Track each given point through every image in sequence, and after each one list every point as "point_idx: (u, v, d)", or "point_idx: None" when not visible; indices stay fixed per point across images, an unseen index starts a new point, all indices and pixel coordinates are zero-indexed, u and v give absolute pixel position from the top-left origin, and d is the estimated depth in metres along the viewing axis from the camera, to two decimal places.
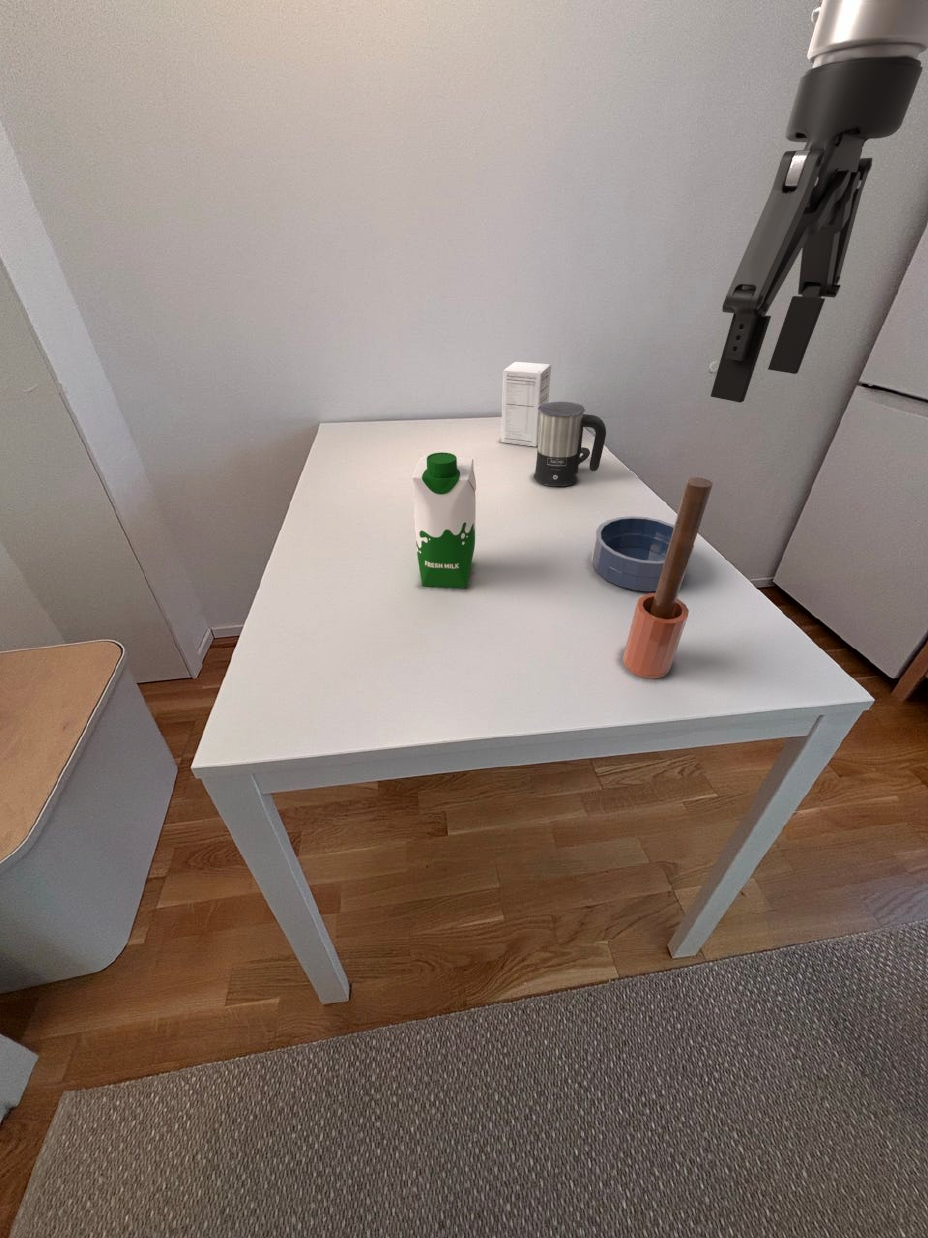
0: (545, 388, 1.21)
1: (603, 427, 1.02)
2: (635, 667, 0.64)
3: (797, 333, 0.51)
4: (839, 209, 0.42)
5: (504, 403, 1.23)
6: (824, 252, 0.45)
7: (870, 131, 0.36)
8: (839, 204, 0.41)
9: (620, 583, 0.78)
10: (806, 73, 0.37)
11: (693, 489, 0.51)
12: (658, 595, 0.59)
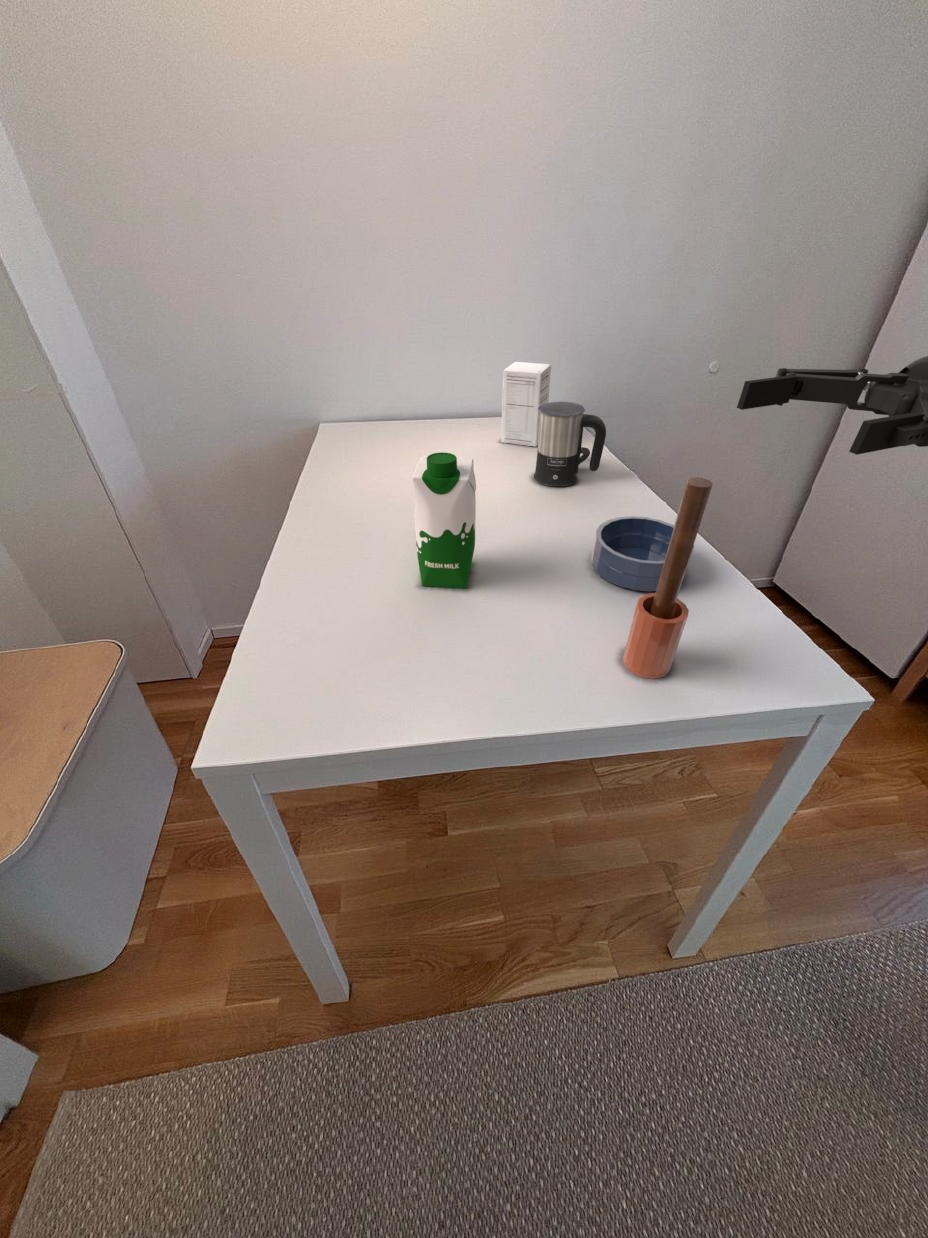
0: (545, 388, 1.21)
1: (603, 427, 1.02)
2: (635, 667, 0.64)
3: (771, 395, 0.56)
4: (869, 407, 0.56)
5: (504, 403, 1.23)
6: (831, 397, 0.56)
7: None
8: None
9: (620, 583, 0.78)
10: None
11: (693, 489, 0.51)
12: (658, 595, 0.59)
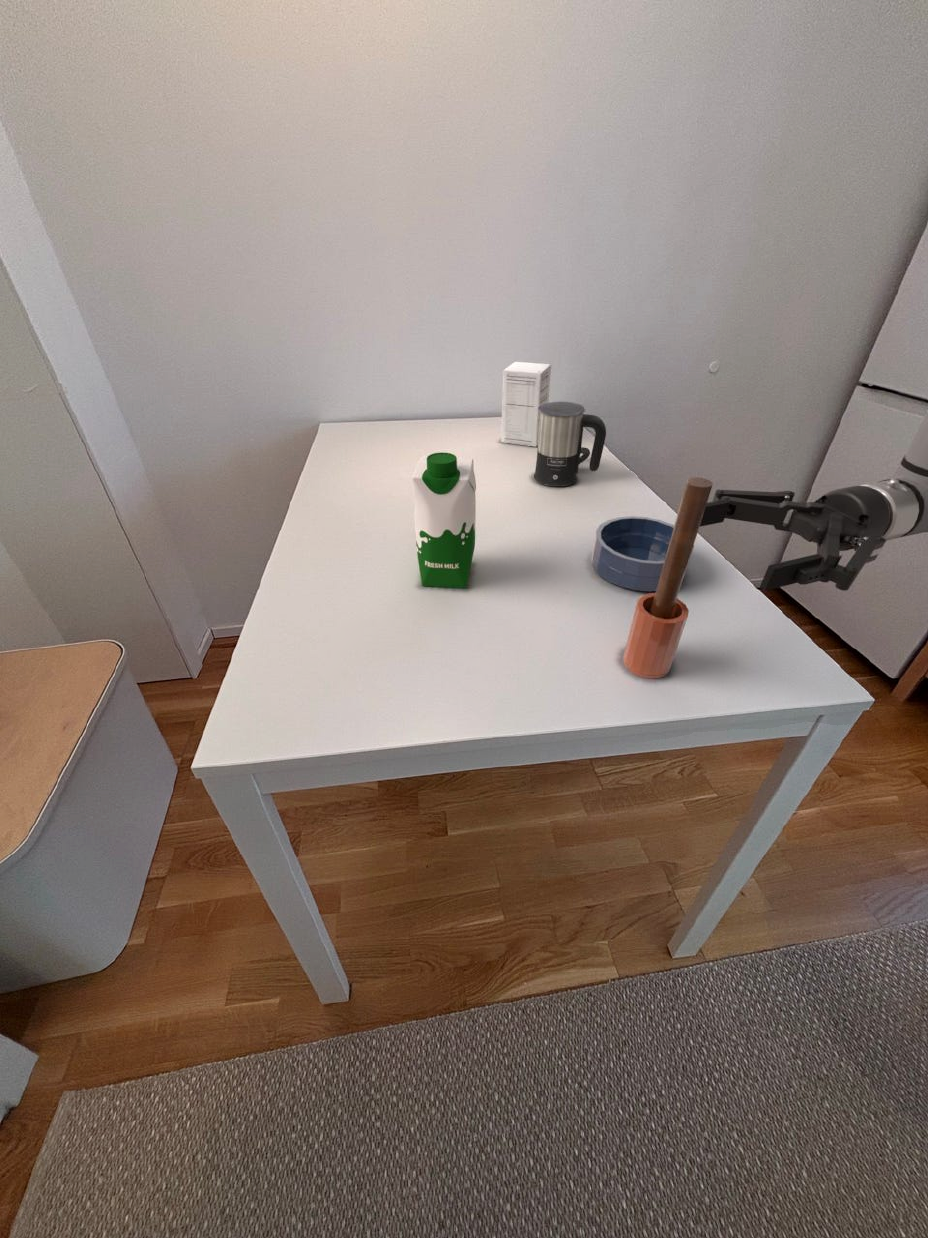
0: (545, 388, 1.21)
1: (603, 427, 1.02)
2: (635, 667, 0.64)
3: (706, 517, 0.64)
4: None
5: (504, 403, 1.23)
6: (760, 519, 0.64)
7: (843, 548, 0.63)
8: None
9: (620, 583, 0.78)
10: None
11: (693, 489, 0.51)
12: (658, 595, 0.59)
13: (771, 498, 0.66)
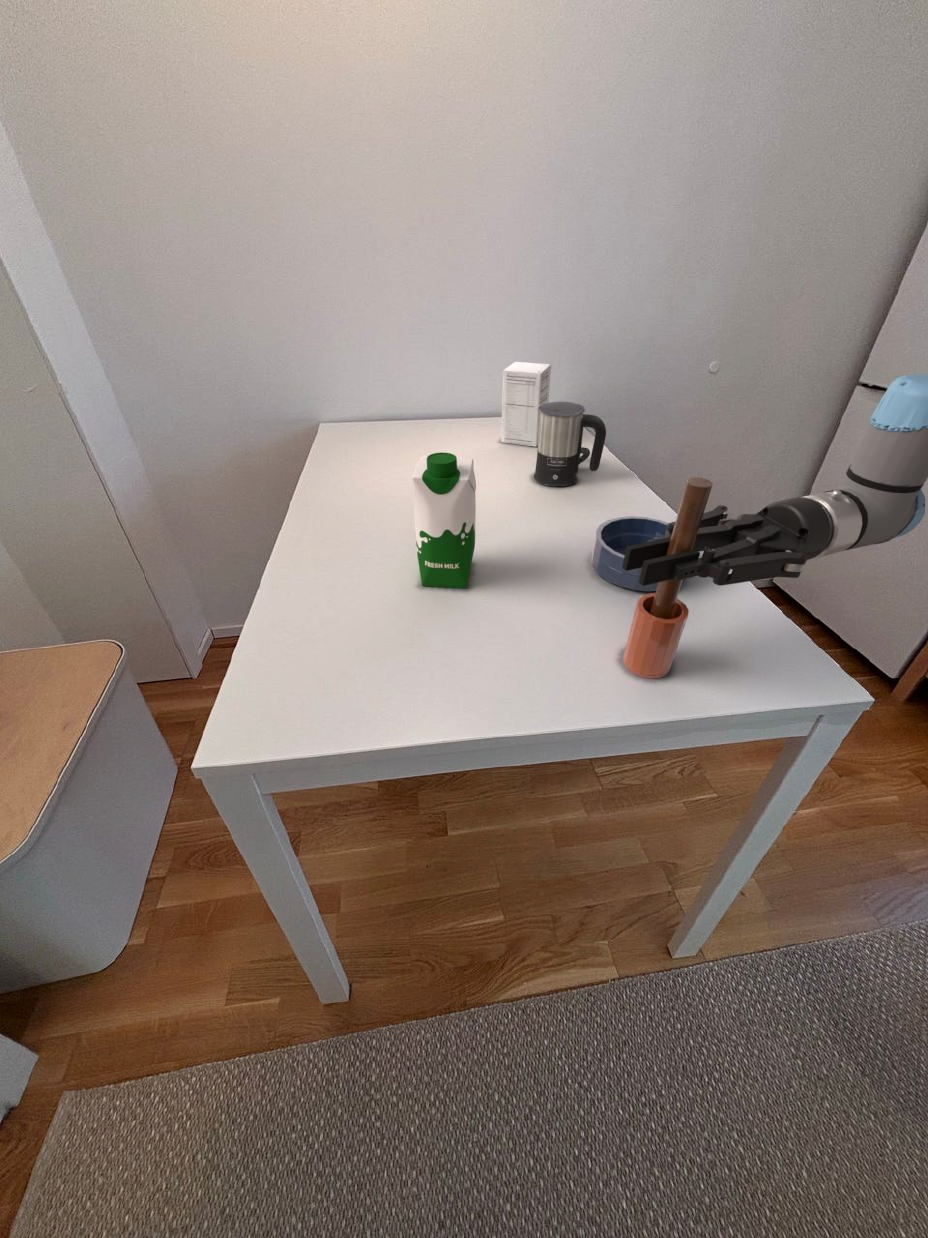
0: (545, 388, 1.21)
1: (603, 427, 1.02)
2: (635, 667, 0.64)
3: (655, 556, 0.57)
4: None
5: (504, 403, 1.23)
6: (711, 546, 0.59)
7: None
8: None
9: (620, 583, 0.78)
10: None
11: (693, 489, 0.51)
12: (658, 595, 0.59)
13: (714, 518, 0.61)
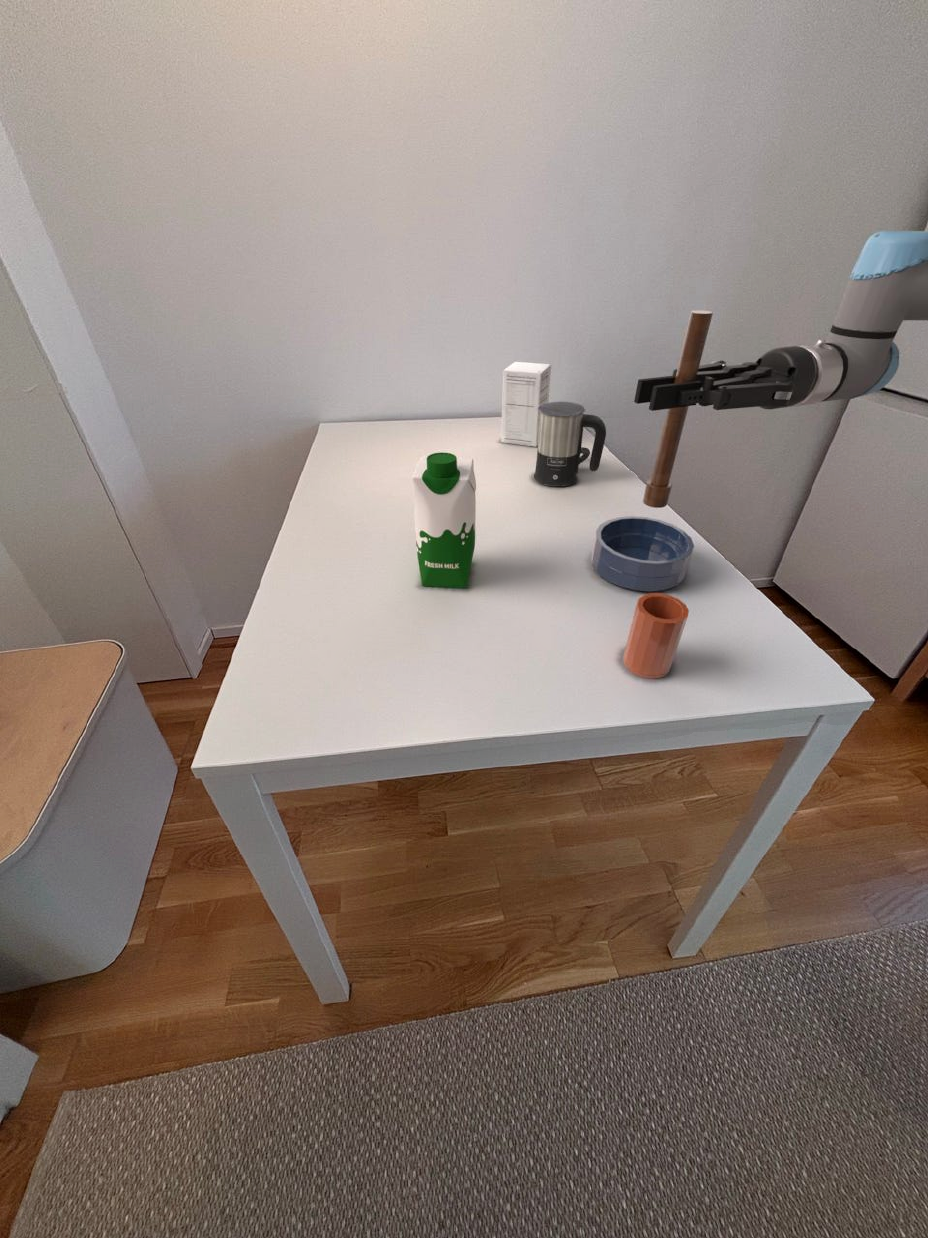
0: (545, 388, 1.21)
1: (603, 427, 1.02)
2: (635, 667, 0.64)
3: None
4: None
5: (504, 403, 1.23)
6: None
7: None
8: None
9: (620, 583, 0.78)
10: None
11: (696, 316, 0.59)
12: (665, 431, 0.68)
13: (714, 368, 0.70)
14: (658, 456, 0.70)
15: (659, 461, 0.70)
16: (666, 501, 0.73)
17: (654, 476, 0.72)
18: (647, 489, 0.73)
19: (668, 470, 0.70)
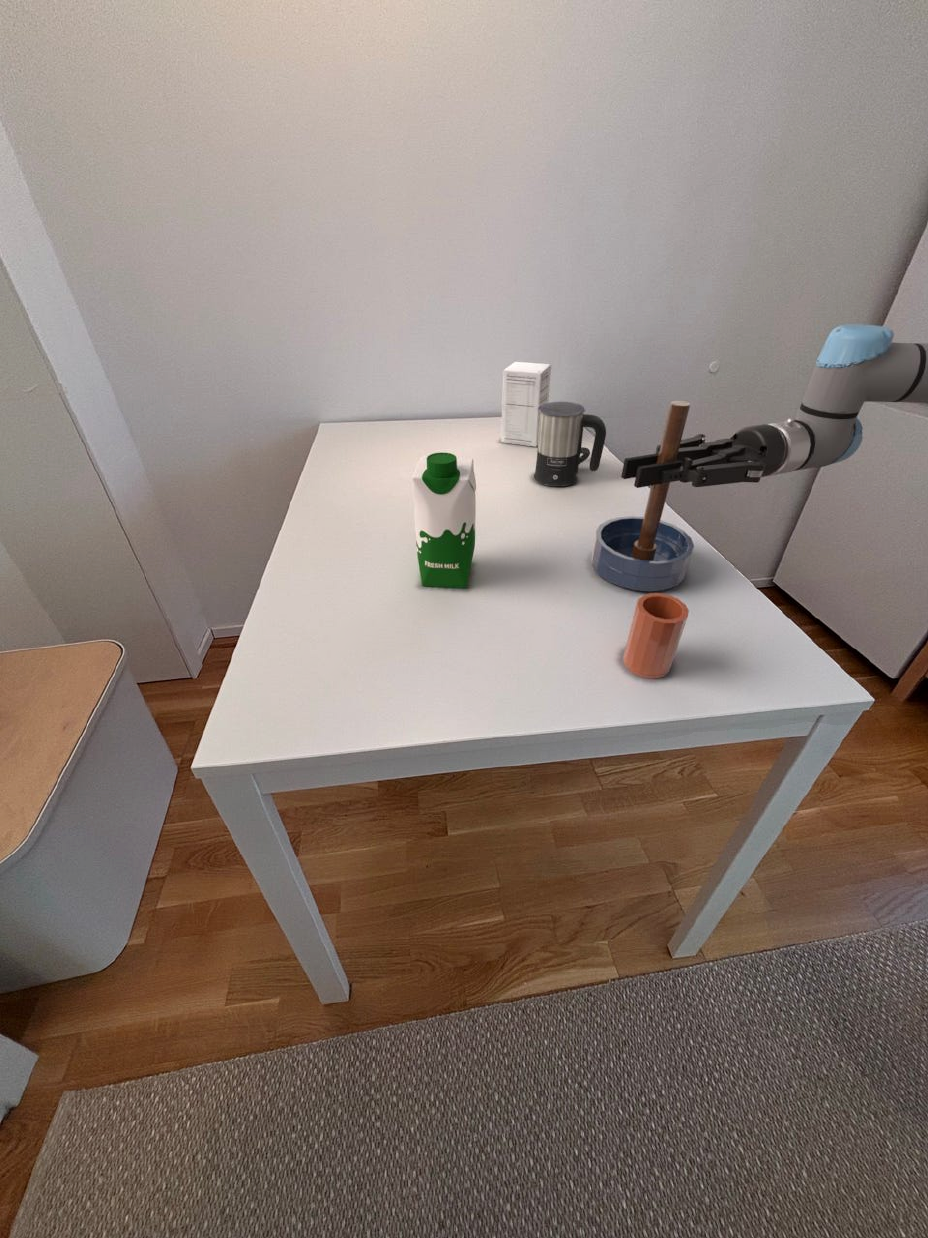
0: (545, 388, 1.21)
1: (603, 427, 1.02)
2: (635, 667, 0.64)
3: None
4: None
5: (504, 403, 1.23)
6: None
7: None
8: None
9: (620, 583, 0.78)
10: (781, 436, 0.73)
11: (675, 408, 0.66)
12: (650, 501, 0.75)
13: (694, 443, 0.77)
14: (644, 522, 0.77)
15: (645, 526, 0.77)
16: None
17: (640, 539, 0.79)
18: (634, 550, 0.80)
19: (652, 534, 0.77)
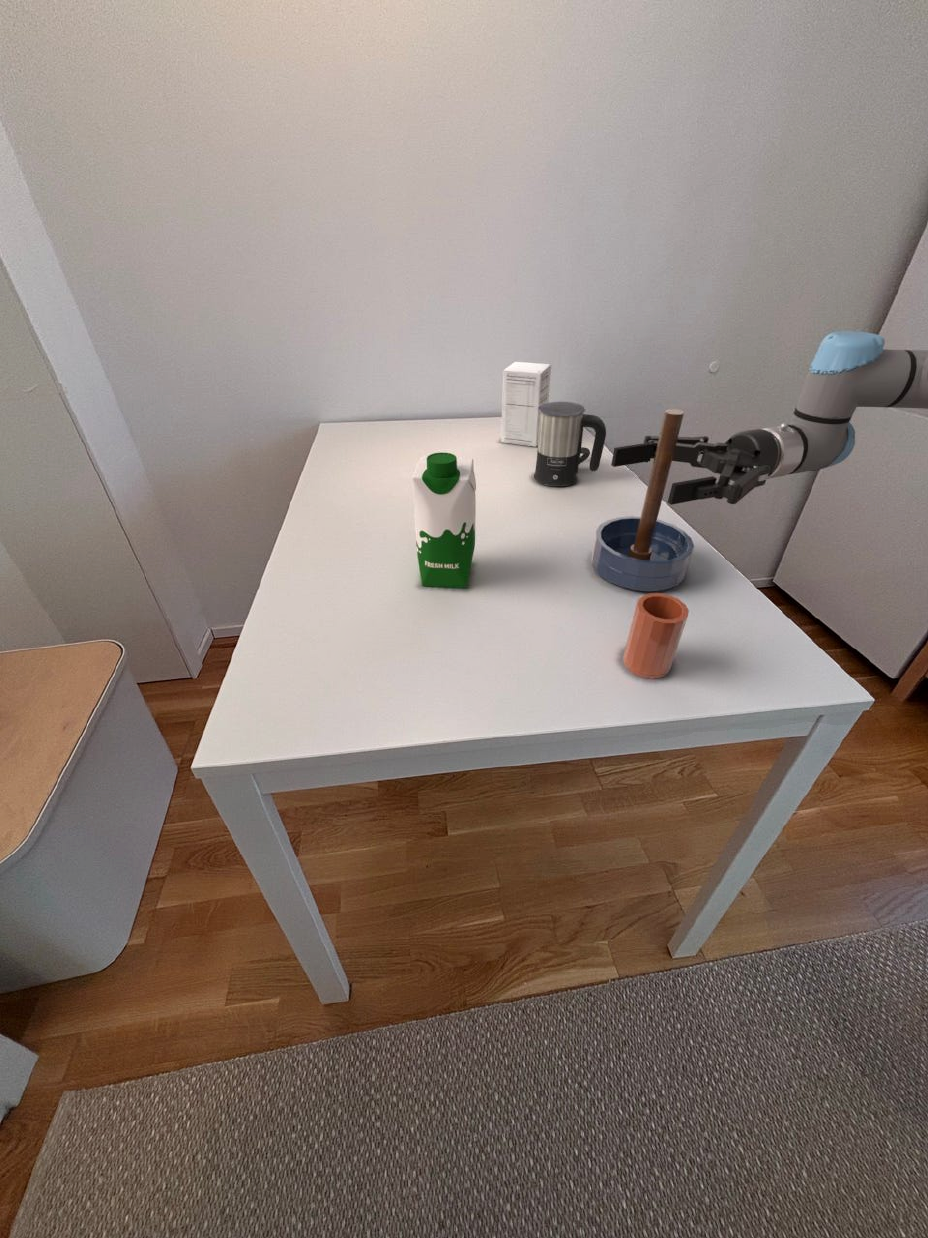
0: (545, 388, 1.21)
1: (603, 427, 1.02)
2: (635, 667, 0.64)
3: (635, 456, 0.78)
4: None
5: (504, 403, 1.23)
6: (679, 458, 0.79)
7: None
8: None
9: (620, 583, 0.78)
10: None
11: (670, 416, 0.68)
12: (645, 506, 0.77)
13: (689, 442, 0.80)
14: (640, 526, 0.79)
15: (641, 531, 0.79)
16: None
17: (636, 543, 0.81)
18: (630, 554, 0.82)
19: (648, 539, 0.79)
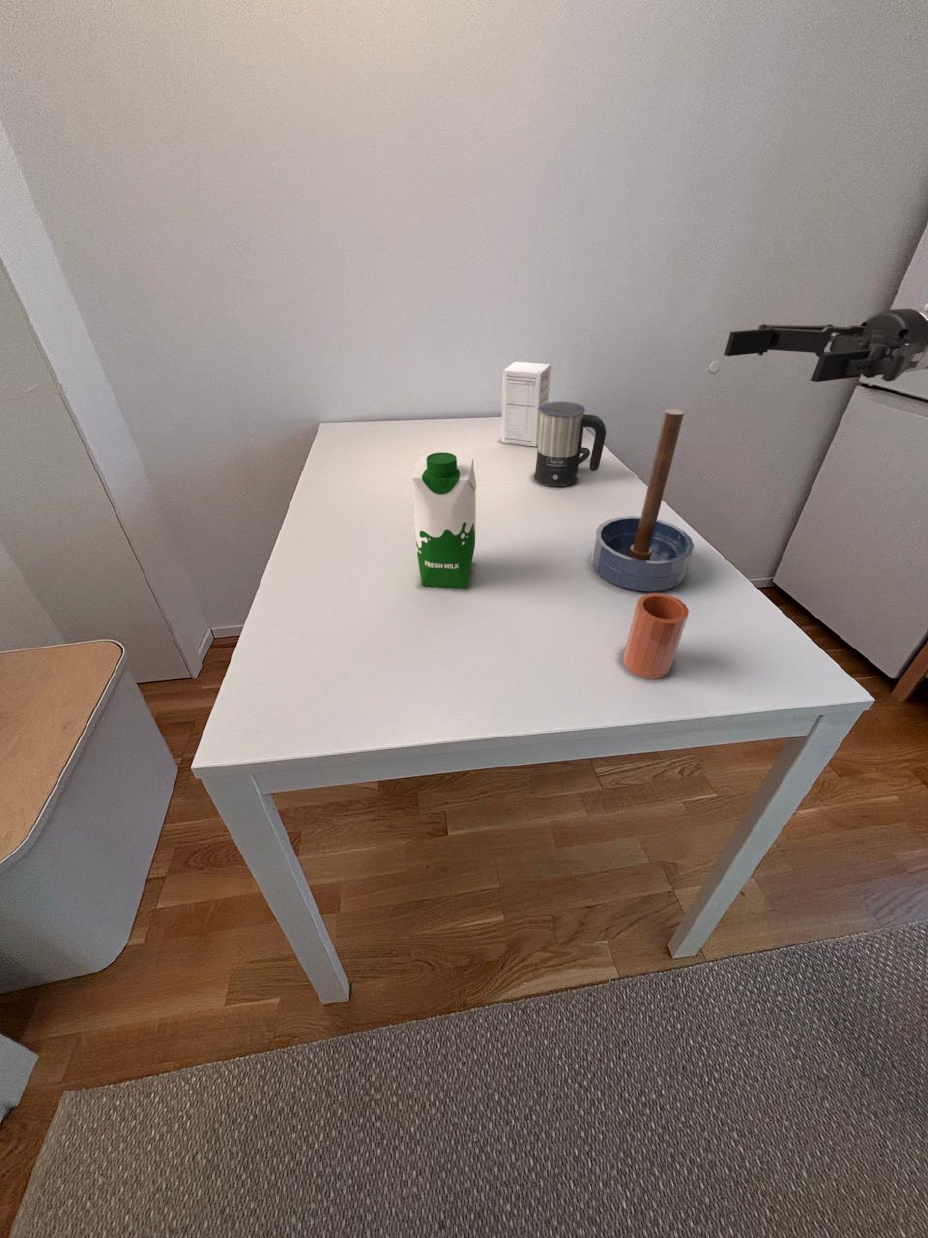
0: (545, 388, 1.21)
1: (603, 427, 1.02)
2: (635, 667, 0.64)
3: (752, 344, 0.67)
4: None
5: (504, 403, 1.23)
6: (802, 347, 0.68)
7: None
8: None
9: (620, 583, 0.78)
10: None
11: (670, 416, 0.68)
12: (645, 506, 0.77)
13: (812, 330, 0.69)
14: (640, 526, 0.79)
15: (641, 531, 0.79)
16: None
17: (636, 543, 0.81)
18: (630, 554, 0.82)
19: (648, 539, 0.79)
